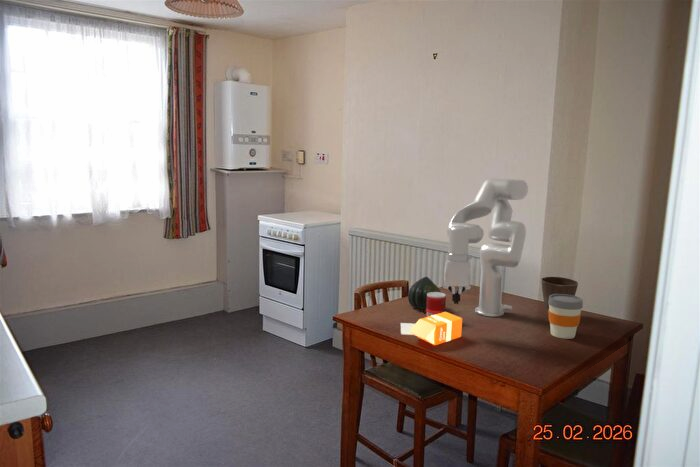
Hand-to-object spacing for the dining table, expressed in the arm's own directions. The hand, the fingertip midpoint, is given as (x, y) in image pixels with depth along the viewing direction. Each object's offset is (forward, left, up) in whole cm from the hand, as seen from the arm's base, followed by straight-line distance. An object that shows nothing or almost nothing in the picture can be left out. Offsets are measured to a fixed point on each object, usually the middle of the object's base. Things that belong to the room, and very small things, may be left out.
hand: (455, 302), depth 204 cm
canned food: (+6, -15, -12) cm, 20 cm away
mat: (+13, 0, -12) cm, 18 cm away
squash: (+10, -30, -12) cm, 34 cm away
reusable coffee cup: (-43, -2, -12) cm, 44 cm away
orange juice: (+1, +3, -8) cm, 8 cm away
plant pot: (-48, -26, -12) cm, 55 cm away
